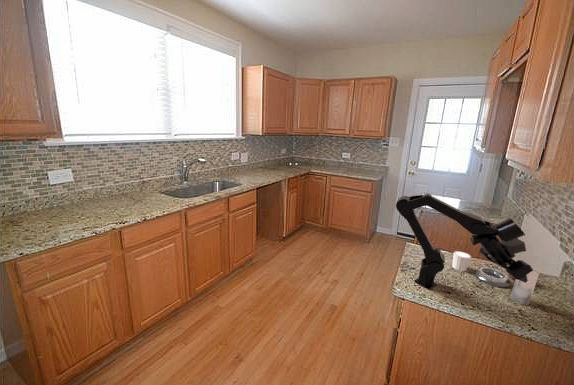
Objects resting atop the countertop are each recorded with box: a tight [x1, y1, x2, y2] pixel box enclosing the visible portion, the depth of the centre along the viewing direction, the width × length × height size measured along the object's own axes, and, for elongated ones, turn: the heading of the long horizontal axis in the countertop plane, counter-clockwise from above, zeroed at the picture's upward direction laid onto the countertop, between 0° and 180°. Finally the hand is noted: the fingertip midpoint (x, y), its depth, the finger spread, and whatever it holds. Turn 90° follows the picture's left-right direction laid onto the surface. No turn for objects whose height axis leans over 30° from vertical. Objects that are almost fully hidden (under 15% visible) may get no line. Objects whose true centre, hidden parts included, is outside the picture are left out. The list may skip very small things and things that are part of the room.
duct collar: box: [474, 266, 511, 289], centre depth 114 cm, size 12×12×3 cm
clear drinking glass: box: [509, 268, 540, 306], centre depth 99 cm, size 6×6×13 cm
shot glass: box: [451, 250, 472, 272], centre depth 121 cm, size 7×7×7 cm
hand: (515, 274), depth 98 cm, fingers open, 9 cm apart
